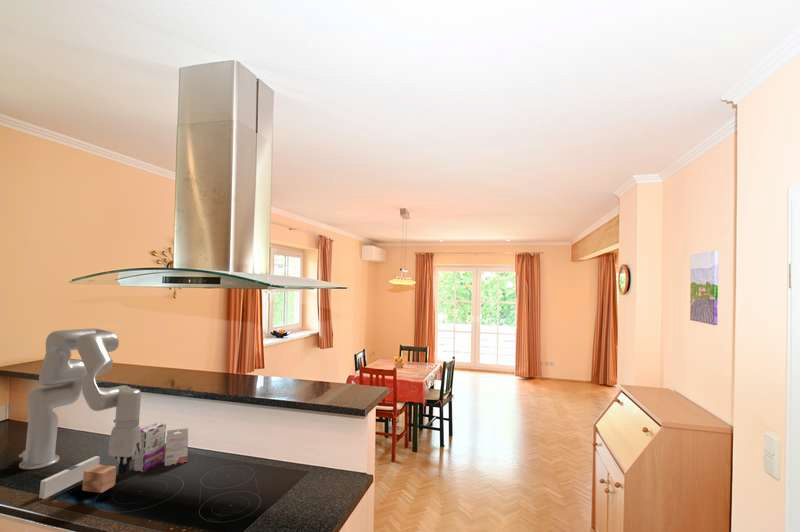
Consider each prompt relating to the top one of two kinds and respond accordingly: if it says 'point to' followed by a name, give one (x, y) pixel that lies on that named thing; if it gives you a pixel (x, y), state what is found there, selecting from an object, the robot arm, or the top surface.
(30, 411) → the robot arm
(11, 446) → the top surface
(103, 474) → the terracotta block
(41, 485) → the grey board
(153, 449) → the candy bar box
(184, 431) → the ink cartridge box
